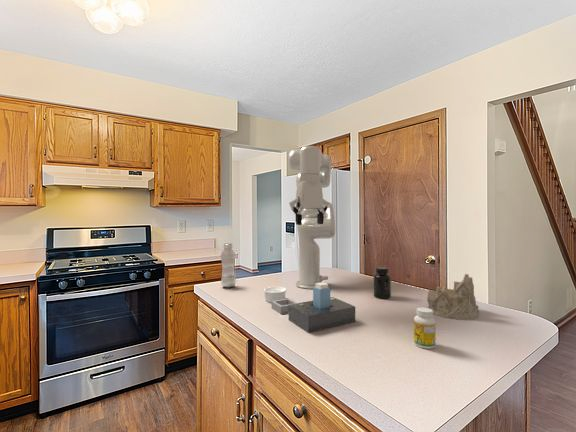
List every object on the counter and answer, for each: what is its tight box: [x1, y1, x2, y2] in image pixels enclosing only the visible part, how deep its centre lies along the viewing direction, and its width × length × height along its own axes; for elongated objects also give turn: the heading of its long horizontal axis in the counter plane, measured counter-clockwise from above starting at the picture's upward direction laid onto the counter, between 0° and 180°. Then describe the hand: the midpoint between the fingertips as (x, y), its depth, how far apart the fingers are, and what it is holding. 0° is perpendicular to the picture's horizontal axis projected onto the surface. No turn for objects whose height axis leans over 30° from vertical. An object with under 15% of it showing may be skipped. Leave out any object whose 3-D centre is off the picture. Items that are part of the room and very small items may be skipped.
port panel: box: [288, 296, 356, 333], centre depth 102 cm, size 18×12×5 cm, turn 119°
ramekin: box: [263, 286, 287, 304], centre depth 126 cm, size 9×9×4 cm
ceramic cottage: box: [426, 273, 480, 321], centre depth 111 cm, size 16×16×15 cm
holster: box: [271, 298, 297, 315], centre depth 114 cm, size 7×7×2 cm
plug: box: [312, 281, 331, 309], centre depth 102 cm, size 4×4×12 cm
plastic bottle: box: [220, 242, 237, 288], centre depth 145 cm, size 6×7×20 cm
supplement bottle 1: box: [373, 266, 392, 300], centre depth 129 cm, size 7×7×12 cm
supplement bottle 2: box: [413, 307, 437, 350], centre depth 85 cm, size 5×5×10 cm
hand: (309, 224), depth 121 cm, fingers open, 9 cm apart
